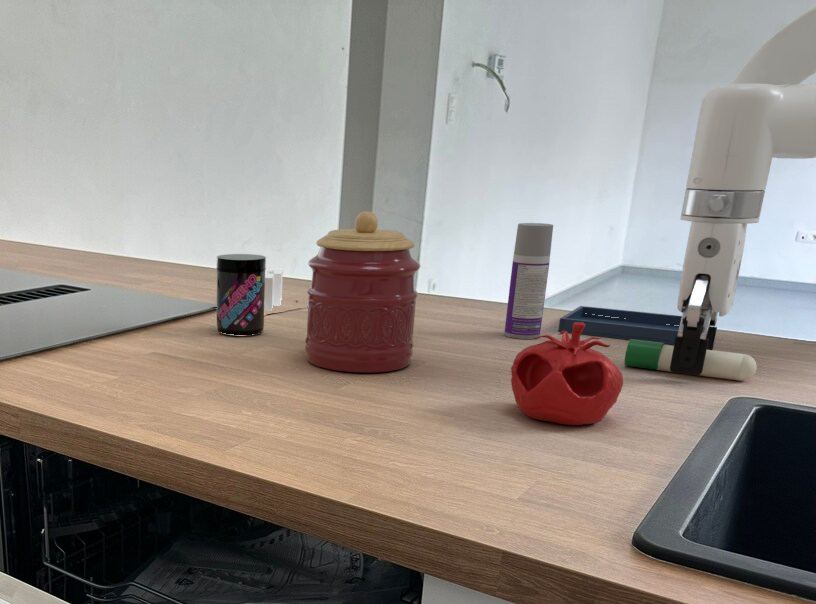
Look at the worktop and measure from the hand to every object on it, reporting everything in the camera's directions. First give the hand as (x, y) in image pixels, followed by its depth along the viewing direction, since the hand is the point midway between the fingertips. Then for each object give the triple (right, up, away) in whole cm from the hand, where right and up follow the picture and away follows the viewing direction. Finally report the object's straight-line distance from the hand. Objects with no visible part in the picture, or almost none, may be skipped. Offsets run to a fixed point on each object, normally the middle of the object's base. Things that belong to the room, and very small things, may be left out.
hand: (690, 364), depth 99 cm
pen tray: (+4, +7, +23) cm, 24 cm away
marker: (0, -1, 0) cm, 1 cm away
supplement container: (-52, +6, +21) cm, 56 cm away
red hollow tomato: (-21, -7, -16) cm, 27 cm away
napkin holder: (-47, +13, +41) cm, 64 cm away
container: (-12, +6, +20) cm, 24 cm away
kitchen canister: (-38, +1, +5) cm, 38 cm away
